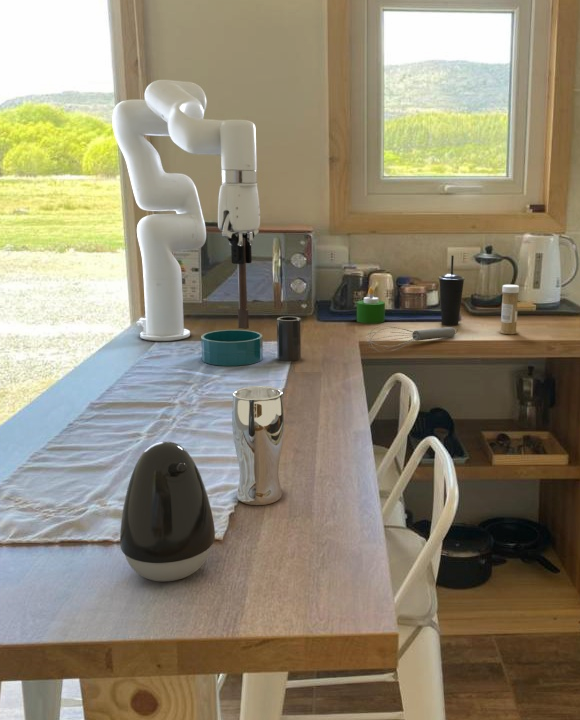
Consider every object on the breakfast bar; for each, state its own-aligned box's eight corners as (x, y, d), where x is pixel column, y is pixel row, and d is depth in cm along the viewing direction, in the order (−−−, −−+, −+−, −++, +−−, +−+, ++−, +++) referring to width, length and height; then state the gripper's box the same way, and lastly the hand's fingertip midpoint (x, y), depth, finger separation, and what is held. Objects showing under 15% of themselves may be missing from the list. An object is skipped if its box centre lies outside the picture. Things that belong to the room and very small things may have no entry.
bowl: (189, 363, 183) (188, 337, 182) (226, 351, 196) (225, 327, 194) (239, 371, 178) (238, 344, 176) (274, 358, 190) (274, 333, 188)
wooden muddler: (236, 328, 183) (234, 237, 178) (241, 327, 184) (239, 237, 180) (245, 329, 182) (243, 238, 177) (250, 328, 183) (248, 237, 179)
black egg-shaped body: (141, 604, 84) (133, 467, 80) (110, 564, 92) (101, 438, 88) (231, 577, 90) (228, 448, 86) (194, 541, 98) (190, 422, 94)
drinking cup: (450, 320, 241) (452, 253, 237) (468, 324, 236) (471, 256, 231) (431, 323, 236) (433, 254, 232) (449, 327, 231) (452, 257, 226)
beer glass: (224, 495, 111) (221, 391, 108) (265, 483, 116) (263, 382, 113) (253, 511, 107) (251, 403, 103) (295, 497, 111) (294, 393, 108)
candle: (380, 324, 233) (381, 290, 231) (353, 322, 235) (353, 288, 233) (387, 319, 241) (388, 286, 239) (360, 317, 243) (361, 284, 241)
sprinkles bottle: (519, 333, 224) (522, 285, 221) (507, 335, 222) (510, 287, 218) (508, 330, 228) (511, 283, 225) (496, 332, 225) (499, 284, 222)
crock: (273, 361, 187) (272, 319, 185) (285, 356, 192) (285, 315, 189) (292, 364, 185) (292, 321, 182) (305, 359, 189) (305, 317, 187)
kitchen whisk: (465, 337, 218) (466, 314, 216) (378, 357, 194) (378, 331, 193) (448, 333, 222) (449, 311, 220) (360, 352, 198) (360, 327, 197)
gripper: (246, 178, 184) (248, 259, 188) (202, 178, 170) (205, 265, 174) (274, 179, 181) (275, 261, 185) (231, 179, 167) (234, 268, 171)
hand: (241, 262), depth 180 cm, fingers closed on wooden muddler, 1 cm apart
